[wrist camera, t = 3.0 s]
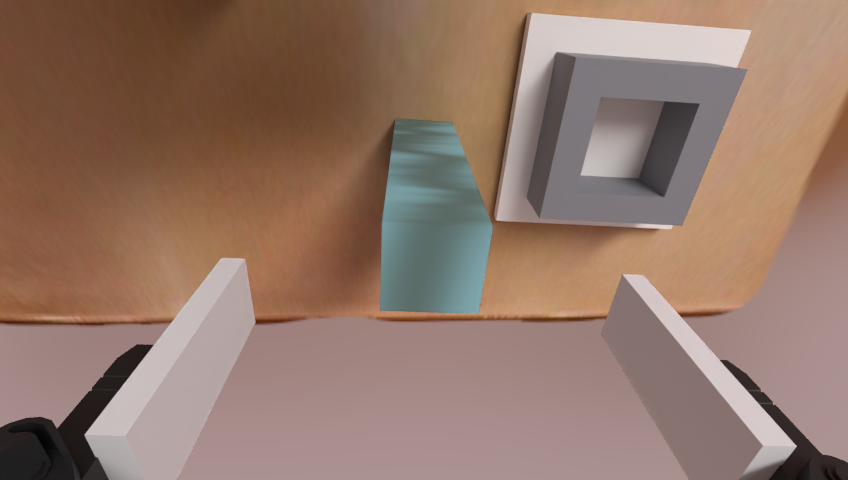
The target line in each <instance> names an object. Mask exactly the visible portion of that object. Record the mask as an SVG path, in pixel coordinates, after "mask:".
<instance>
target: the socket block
mask: <svg viewBox="0 0 848 480" xmlns="http://www.w3.org/2000/svg"><path fill="white" fill-rule="evenodd" d="M750 34H751V30H738V29H726V28H713V27H701V26H688V25H675V24H663V23H650V22H637V21H625V20H612V19H600V18H587V17H574V16H562V15H549V14H536V13H527V19H526V25H525V31H524V37H523V43H522V49H521V55H520V61H519V67H518V73H517V79H516V85H515V91H514V97H513V103H512V109H511V115H510V121H509V127H508V133H507V139H506V145H505V151H504V157H503V163H502V169H501V175H500V181H499V187H498V193H497V199H496V205H495V211H494V217H495V219H496V221H511V222H531V223H552V224H573V225H594V226H615V227H636V228H656V229H672V226H673V225H678V226H682V225H683V222H684V220H685V218H686V215H687V213H688V210H689V208H690V206H691V203H692V201H693V198H694V196H695V194H696V191H697V189H698V186H699V184H700V182H701V179H702V177H703V174H704V172H705V170H706V167H707V165H708V162H709V160H710V158H711V155H712V153H713V151H714V148H715V146H716V143H717V141H718V139H719V136H720V134H721V131H722V129H723V127H724V124H725V122H726V119H727V117H728V115H729V112H730V110H731V107H732V105H733V103H734V100H735V98H736V96H737V93H738V91H739V88H740V86H741V84H742V81H743V79H744V76H745V74H746V72H747V70H746V69H740V68H737V66H738V63H739V61H740V58H741V56H742V54H743V51H744V49H745V46H746V44H747V41H748V39H749V36H750Z"/></svg>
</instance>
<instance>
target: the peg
mask: <svg viewBox="0 0 848 480" xmlns="http://www.w3.org/2000/svg"><path fill="white" fill-rule="evenodd" d="M492 230H493V226H492V223H491V221H490V218H489V215H488V213H487V210H486V208H485V205H484V202H483V200H482V197H481V195H480V192H479V190H478V187H477V184H476V182H475V179H474V177H473V174H472V171H471V169H470V166H469V164H468V161H467V159H466V156H465V153H464V151H463V148H462V146H461V143H460V140H459V138H458V135H457V133H456V130H455V128H454V125H453V122H439V121H423V120H407V119H395V126H394V134H393V141H392V149H391V157H390V164H389V172H388V180H387V187H386V195H385V203H384V210H383V218H382V247H381V295H380V311H407V312H437V313H466V314H478V313H479V307H480V301H481V295H482V289H483V283H484V278H485V272H486V266H487V260H488V254H489V248H490V242H491V236H492Z"/></svg>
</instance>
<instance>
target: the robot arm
mask: <svg viewBox="0 0 848 480" xmlns="http://www.w3.org/2000/svg"><path fill="white" fill-rule="evenodd" d="M254 324H255V317H254V311H253V305H252V299H251V292H250V286H249V280H248V274H247V268H246V262H245V259H239V258H221V259H220V261H219V262H218V263H217V264H216V266H215V267H214V268H213V270H212V271H211V272H210V273H209V275H208V276H207V277H206V279H205V280H204V281H203V282H202V284H201V285H200V286H199V288H198V289H197V290H196V291H195V293H194V294H193V295H192V297H191V298H190V299H189V301H188V302H187V303H186V304H185V306H184V307H183V308H182V310H181V311H180V312H179V313H178V315H177V316H176V317H175V319H174V320H173V321H172V322H171V324H170V325H169V327H168V328H167V329H166V330H165V332H164V333H163V334H162V335H161V337H160V338H159V339H158V341H157V342H156V343H155V344H154V345H136V346H134V347H133V348H131V349H130V350H128V351H127V352H125V353H124V354H123V355H121V356H120V357H118V358H117V359H116V360H115V362H114V363H113V364H112V365H111V366H110V368H109V369H108V370H107V371H106V372H105V373H104V376H103V378H100V379H99V380H98V381H97V383H96V384H95V385H94V386H93V387H92V391H89V392H88V393H87V394H86V396H85V397H84V398H83V399H82V400H81V402H80V403H79V404H78V405H77V406H76V407H75V408H74V410H73V411H72V412H71V413H70V414H69V416H68V417H67V418H66V419H65V420H64V421H63V422H62V424H61V425H60V426H59V427H58V428H56V427H55V425H54V423H53V422H52V420H49V419H45V418H43V417H35V418H25V419H22V420H18V421H15V422H12V423H9V424H7V425H5V426H3V427H1V428H0V480H177V478H178V476H179V474H180V472H181V470H182V468H183V466H184V464H185V462H186V460H187V458H188V456H189V454H190V452H191V450H192V448H193V446H194V444H195V442H196V440H197V438H198V436H199V434H200V432H201V430H202V428H203V426H204V424H205V422H206V420H207V418H208V416H209V414H210V412H211V410H212V408H213V406H214V404H215V402H216V400H217V398H218V396H219V394H220V392H221V390H222V388H223V386H224V384H225V382H226V380H227V378H228V376H229V374H230V372H231V370H232V368H233V366H234V364H235V362H236V360H237V358H238V356H239V354H240V352H241V350H242V348H243V346H244V344H245V342H246V340H247V338H248V336H249V334H250V332H251V330H252V328H253V326H254ZM601 334H602V336H603V338H604V339H605V341H606V343H607V344H608V346H609V347H610V349H611V351H612V352H613V354H614V356H615V358H616V359H617V361H618V363H619V364H620V366H621V368H622V369H623V371H624V373H625V374H626V376H627V378H628V379H629V381H630V383H631V384H632V386H633V388H634V389H635V391H636V393H637V394H638V396H639V398H640V399H641V401H642V403H643V404H644V406H645V407H646V409H647V411H648V413H649V414H650V416H651V417H652V419H653V421H654V423H655V424H656V426H657V427H658V429H659V431H660V432H661V434H662V436H663V437H664V439H665V441H666V442H667V444H668V446H669V447H670V449H671V451H672V452H673V454H674V456H675V457H676V459H677V461H678V462H679V464H680V466H681V467H682V469H683V471H684V472H685V474H686V476H687V477H688V479H689V480H848V463H847V462H845V461H843V460H840V459H838V458H835V457H832V456H828V455H822V454H821V453H820V452H819V451H818V450H817V449H816V448H815V447H814V446H813V444H812V443H811V442H810V441H809V440H808V439H807V438H806V437H805V436H804V435H803V434H802V433H801V432H800V431H799V430H798V429H797V428H796V427H795V425H794V424H793V423H792V422H791V421H790V420H789V419H788V418H787V417H786V416H785V415H784V414H783V413H782V412H781V410H780V409H779V408H778V407H777V406H776V405H773V402H772V401H771V400H770V399H769V398H768V396H767V395H766V394H765V393H764V392H761V389H760V388H759V387H758V386H757V385H756V384H755V383H754V382H753V381H752V380H751V378H750V377H749V376H748V375H747V374H746V373H744V372H743V371H741V370H740V369H739V368H737V367H736V366H734V365H733V364H732V363H730V362H729V361H727V360H719V359H718V358H717V357H716V356H715V355H714V354H713V352H712V351H711V350H710V349H709V348H708V347H707V346H706V345H705V344H704V342H703V341H702V340H701V339H700V338H699V337H698V336H697V335H696V333H695V332H694V331H693V330H692V329H691V328H690V327H689V326H688V325H687V324H686V322H685V321H684V320H683V319H682V318H681V317H680V316H679V315H678V313H677V312H676V311H675V310H674V309H673V308H672V307H671V306H670V304H669V303H668V302H667V301H666V300H665V299H664V298H663V297H662V296H661V294H660V293H659V292H658V291H657V290H656V289H655V288H654V287H653V286H652V284H651V283H650V282H649V281H648V280H647V279H646V278H645V277H644V276H643V275H627V274H622V277H621V280H620V282H619V285H618V288H617V291H616V294H615V296H614V299H613V302H612V305H611V308H610V310H609V313H608V316H607V319H606V322H605V324H604V327H603V330H602V333H601Z"/></svg>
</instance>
